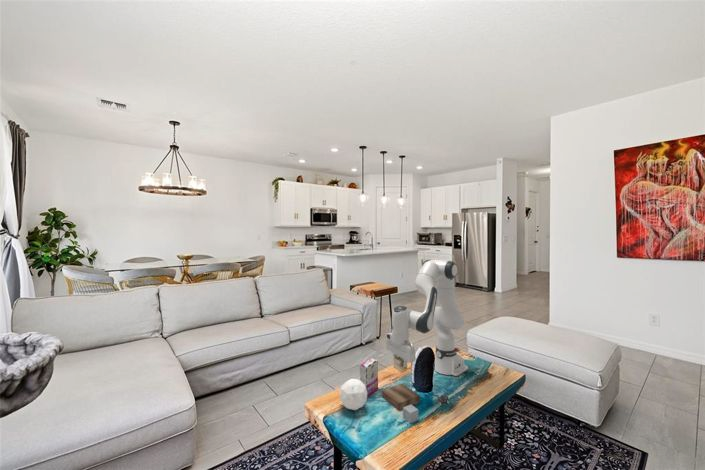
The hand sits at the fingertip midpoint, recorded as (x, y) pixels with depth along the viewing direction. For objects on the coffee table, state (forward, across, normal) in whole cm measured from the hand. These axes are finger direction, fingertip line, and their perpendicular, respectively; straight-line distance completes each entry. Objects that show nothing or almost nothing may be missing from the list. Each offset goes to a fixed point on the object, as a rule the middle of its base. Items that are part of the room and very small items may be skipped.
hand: (400, 364), depth 157 cm
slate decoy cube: (+19, -15, +6) cm, 25 cm away
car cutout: (+20, -15, -21) cm, 32 cm away
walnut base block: (+19, 0, 0) cm, 19 cm away
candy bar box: (+19, +15, +10) cm, 26 cm away
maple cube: (+2, 0, 0) cm, 2 cm away
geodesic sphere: (+19, +5, +25) cm, 32 cm away
